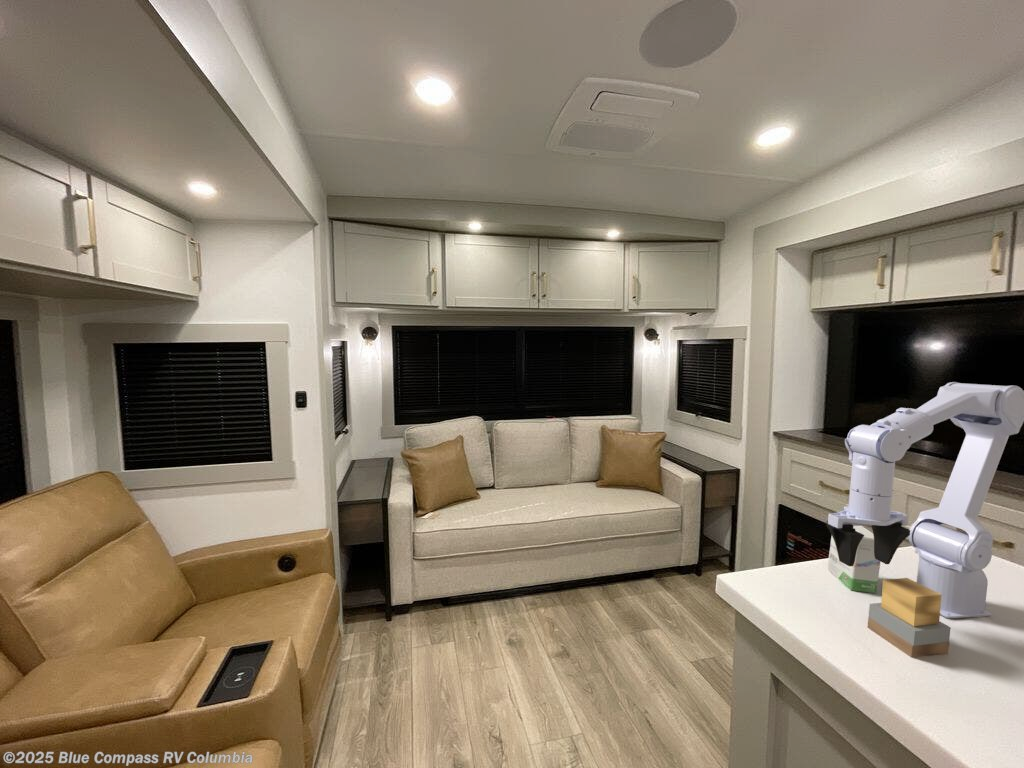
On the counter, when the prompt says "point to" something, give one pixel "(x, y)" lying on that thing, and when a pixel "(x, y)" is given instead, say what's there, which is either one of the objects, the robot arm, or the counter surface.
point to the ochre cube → (911, 601)
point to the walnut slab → (907, 647)
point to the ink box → (857, 564)
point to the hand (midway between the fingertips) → (864, 562)
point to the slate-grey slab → (910, 627)
